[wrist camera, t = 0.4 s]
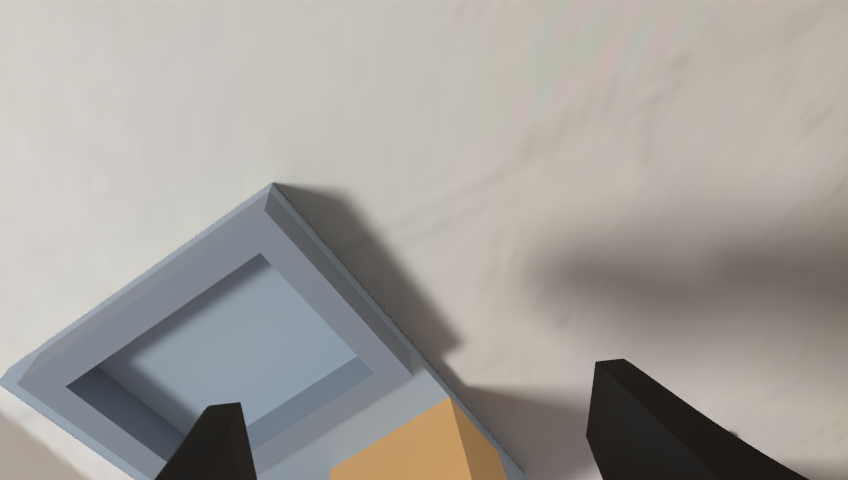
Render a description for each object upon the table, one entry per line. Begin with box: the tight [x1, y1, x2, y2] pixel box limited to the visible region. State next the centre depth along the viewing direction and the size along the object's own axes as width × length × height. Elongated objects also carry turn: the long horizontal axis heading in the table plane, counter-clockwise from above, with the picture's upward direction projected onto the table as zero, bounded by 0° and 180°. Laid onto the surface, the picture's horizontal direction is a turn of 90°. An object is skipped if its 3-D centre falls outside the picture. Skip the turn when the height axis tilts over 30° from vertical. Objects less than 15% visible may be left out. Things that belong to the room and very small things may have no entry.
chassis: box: [0, 183, 527, 480], centre depth 22 cm, size 18×12×3 cm, turn 34°
